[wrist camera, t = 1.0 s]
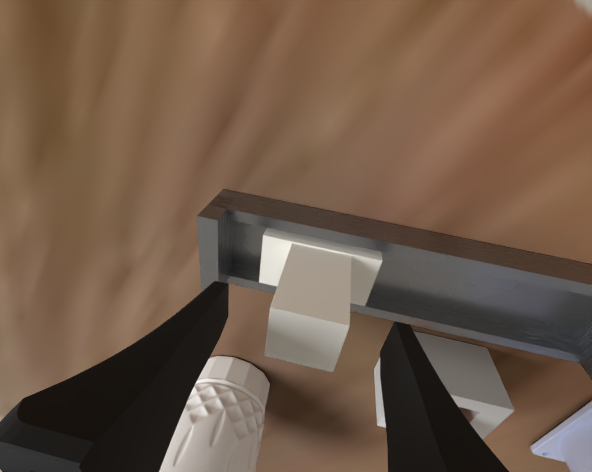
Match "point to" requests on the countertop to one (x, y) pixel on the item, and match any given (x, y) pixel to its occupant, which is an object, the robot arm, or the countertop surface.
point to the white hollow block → (462, 382)
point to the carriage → (313, 295)
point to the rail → (419, 275)
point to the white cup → (221, 420)
